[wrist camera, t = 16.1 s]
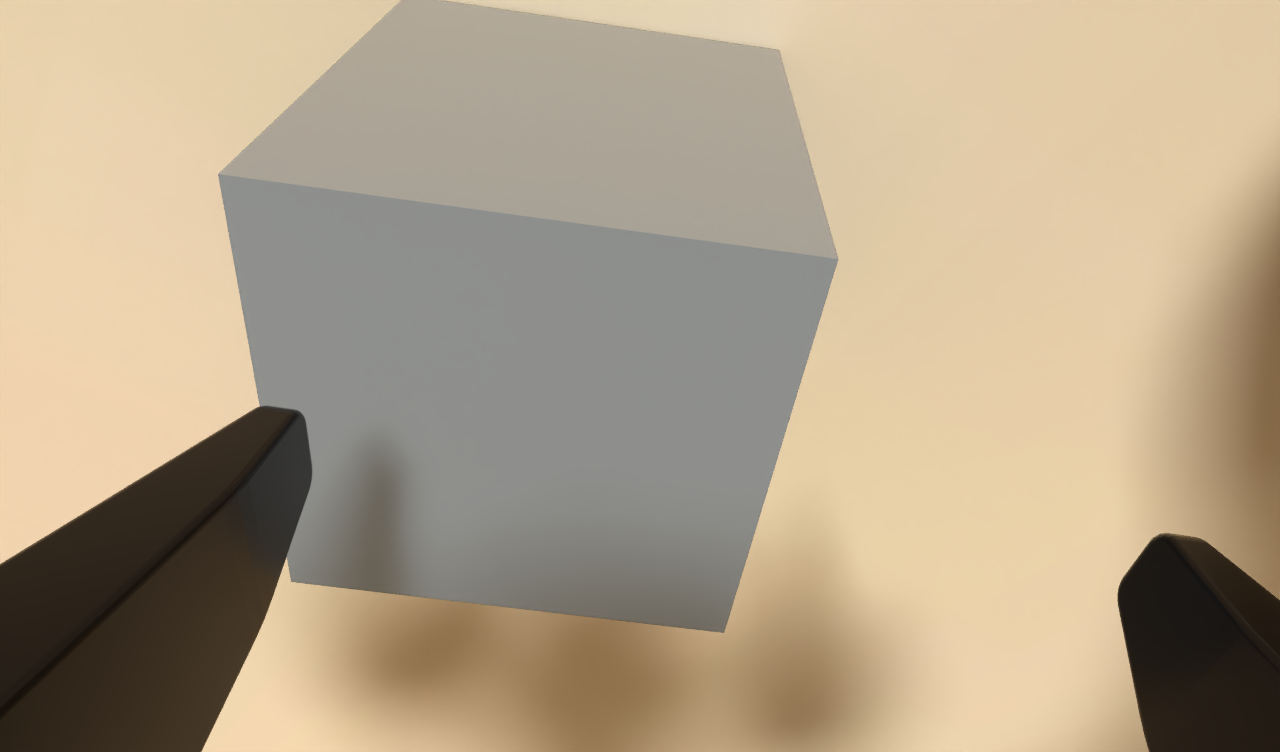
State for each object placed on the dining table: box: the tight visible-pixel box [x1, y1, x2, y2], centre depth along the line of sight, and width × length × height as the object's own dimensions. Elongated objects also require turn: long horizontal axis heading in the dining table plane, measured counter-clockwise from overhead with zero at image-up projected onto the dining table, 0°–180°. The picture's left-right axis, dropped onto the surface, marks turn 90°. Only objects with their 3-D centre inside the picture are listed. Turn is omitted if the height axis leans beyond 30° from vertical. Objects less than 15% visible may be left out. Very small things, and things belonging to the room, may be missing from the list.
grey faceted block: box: [218, 0, 838, 633], centre depth 16 cm, size 8×8×9 cm
